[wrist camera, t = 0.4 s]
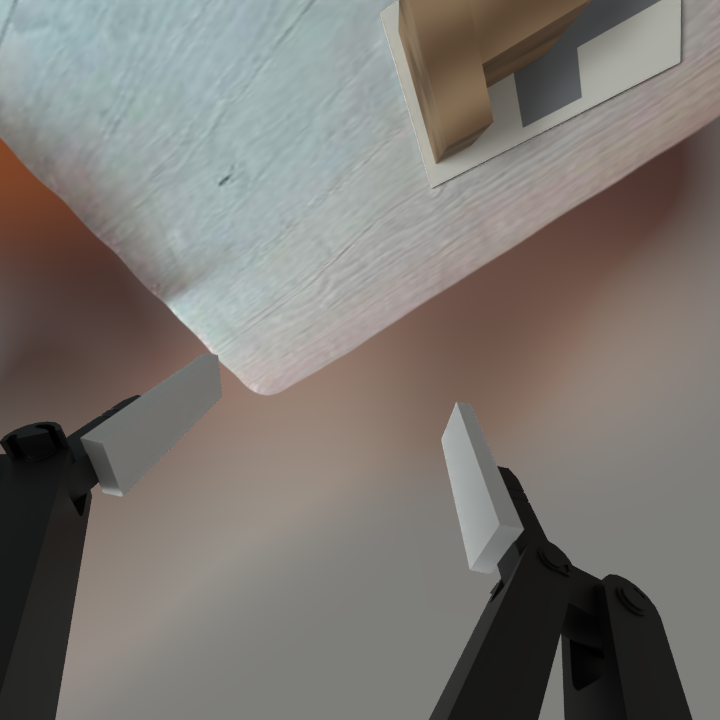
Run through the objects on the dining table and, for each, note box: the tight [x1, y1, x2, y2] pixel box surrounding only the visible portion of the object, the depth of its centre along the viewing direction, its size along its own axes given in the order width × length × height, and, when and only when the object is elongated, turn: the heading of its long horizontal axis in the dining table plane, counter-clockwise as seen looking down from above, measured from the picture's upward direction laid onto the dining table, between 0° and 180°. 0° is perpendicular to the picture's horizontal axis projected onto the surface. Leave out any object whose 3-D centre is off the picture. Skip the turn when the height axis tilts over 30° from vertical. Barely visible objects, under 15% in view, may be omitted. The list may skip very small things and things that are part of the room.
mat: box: [380, 0, 681, 188], centre depth 26 cm, size 16×24×1 cm, turn 114°
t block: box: [398, 0, 592, 164], centre depth 24 cm, size 12×12×8 cm
